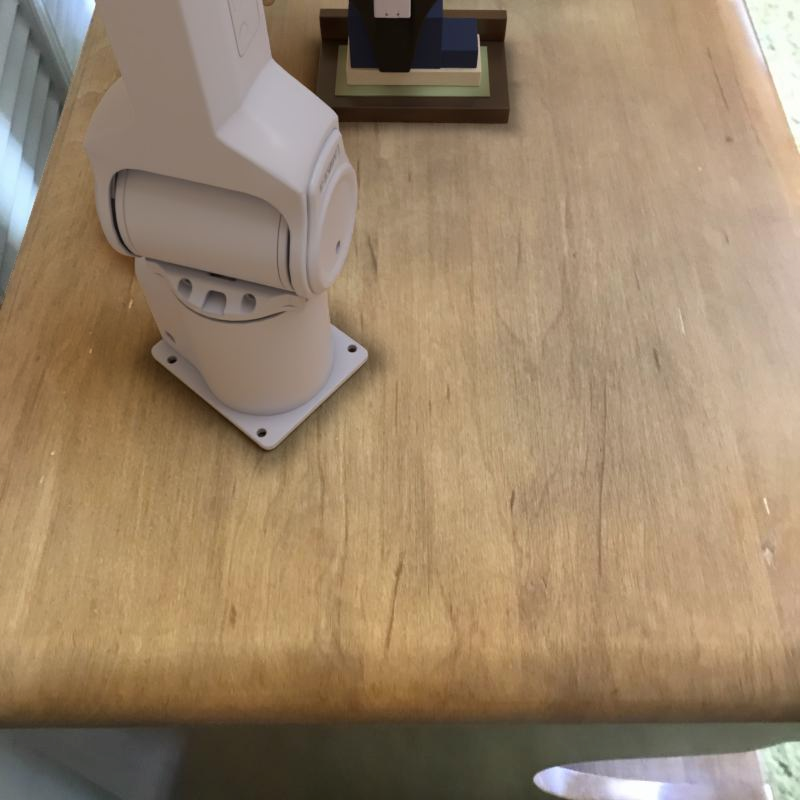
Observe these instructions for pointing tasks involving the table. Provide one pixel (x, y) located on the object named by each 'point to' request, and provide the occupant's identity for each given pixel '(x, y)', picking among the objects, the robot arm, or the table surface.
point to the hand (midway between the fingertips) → (395, 49)
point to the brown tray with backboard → (409, 99)
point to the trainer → (420, 53)
